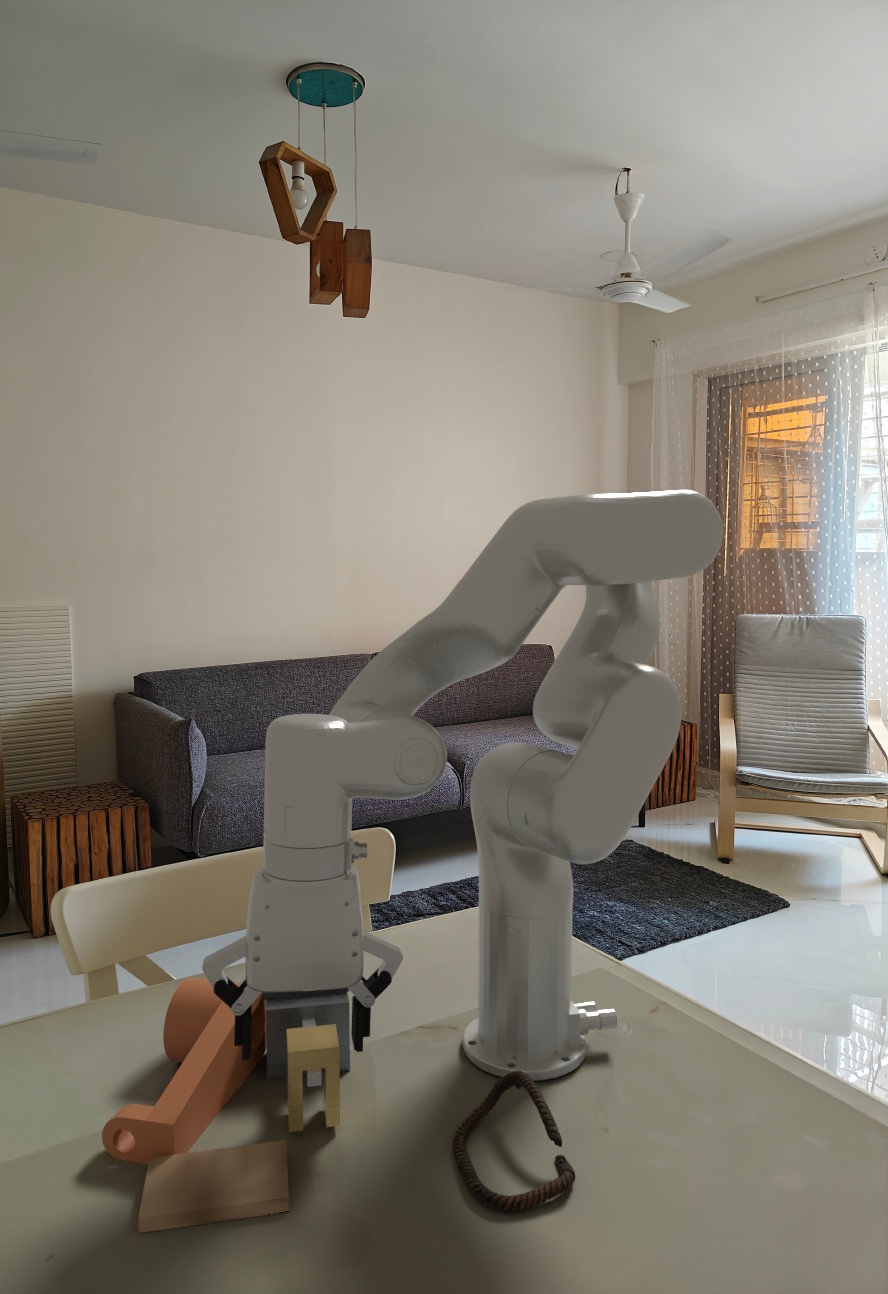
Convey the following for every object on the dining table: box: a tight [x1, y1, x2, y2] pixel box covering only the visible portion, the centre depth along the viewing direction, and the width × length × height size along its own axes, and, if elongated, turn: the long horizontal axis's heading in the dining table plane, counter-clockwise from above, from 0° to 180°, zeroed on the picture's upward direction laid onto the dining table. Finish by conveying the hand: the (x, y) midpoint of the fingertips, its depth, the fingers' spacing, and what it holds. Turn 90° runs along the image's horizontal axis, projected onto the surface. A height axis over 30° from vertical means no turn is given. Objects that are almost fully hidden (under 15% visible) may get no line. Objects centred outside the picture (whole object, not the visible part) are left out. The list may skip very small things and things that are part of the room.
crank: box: [101, 977, 267, 1165], centre depth 84 cm, size 20×8×8 cm, turn 167°
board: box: [137, 1140, 290, 1234], centre depth 71 cm, size 11×7×1 cm, turn 102°
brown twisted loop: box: [452, 1071, 576, 1213], centre depth 74 cm, size 13×5×10 cm
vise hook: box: [264, 988, 351, 1087], centre depth 85 cm, size 8×16×8 cm, turn 12°
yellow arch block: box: [286, 1024, 341, 1133], centre depth 79 cm, size 4×4×7 cm
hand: (302, 1048), depth 79 cm, fingers open, 9 cm apart
